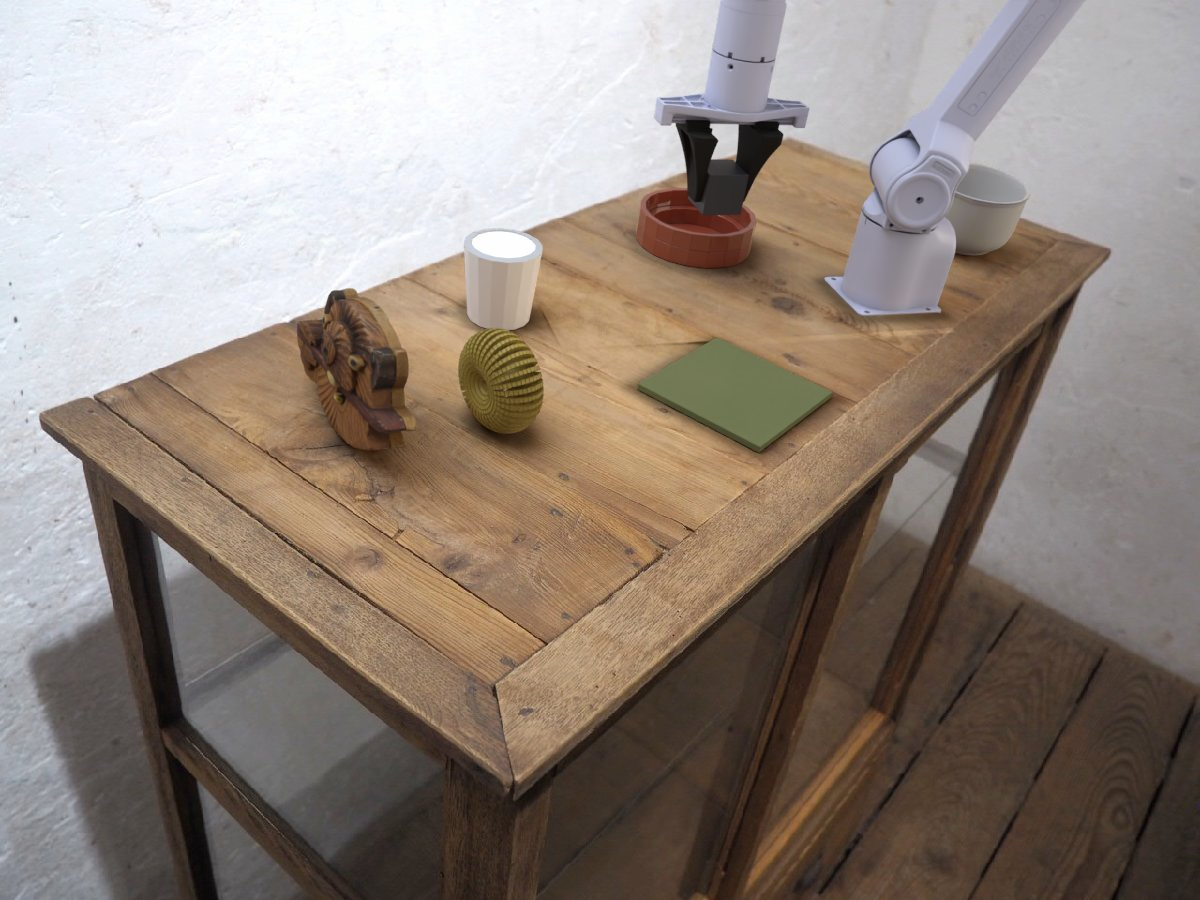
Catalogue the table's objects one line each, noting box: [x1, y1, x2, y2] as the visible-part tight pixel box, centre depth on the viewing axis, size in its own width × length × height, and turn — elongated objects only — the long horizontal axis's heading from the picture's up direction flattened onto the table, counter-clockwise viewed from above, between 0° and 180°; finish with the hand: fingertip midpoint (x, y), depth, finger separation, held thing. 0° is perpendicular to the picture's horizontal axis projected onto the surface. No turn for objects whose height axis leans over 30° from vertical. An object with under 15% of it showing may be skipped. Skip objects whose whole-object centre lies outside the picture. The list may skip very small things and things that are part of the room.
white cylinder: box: [463, 227, 544, 331], centre depth 93 cm, size 7×7×7 cm
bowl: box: [635, 187, 758, 269], centre depth 111 cm, size 12×12×4 cm
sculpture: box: [457, 328, 545, 435], centre depth 78 cm, size 8×4×8 cm, turn 40°
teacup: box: [945, 161, 1031, 257], centre depth 119 cm, size 14×11×8 cm
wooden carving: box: [296, 287, 417, 451], centre depth 75 cm, size 16×5×10 cm, turn 38°
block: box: [688, 158, 749, 215], centre depth 101 cm, size 4×4×4 cm
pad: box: [636, 337, 833, 453], centre depth 88 cm, size 12×12×1 cm
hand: (716, 197), depth 101 cm, fingers closed on block, 4 cm apart
